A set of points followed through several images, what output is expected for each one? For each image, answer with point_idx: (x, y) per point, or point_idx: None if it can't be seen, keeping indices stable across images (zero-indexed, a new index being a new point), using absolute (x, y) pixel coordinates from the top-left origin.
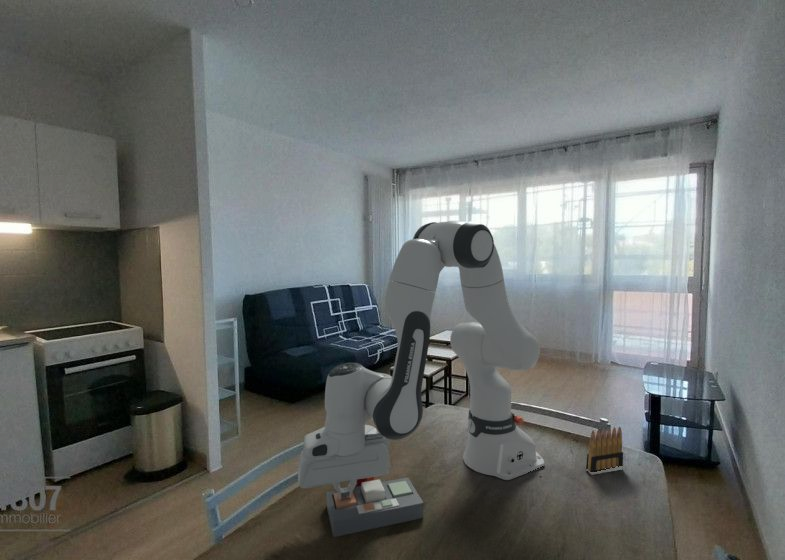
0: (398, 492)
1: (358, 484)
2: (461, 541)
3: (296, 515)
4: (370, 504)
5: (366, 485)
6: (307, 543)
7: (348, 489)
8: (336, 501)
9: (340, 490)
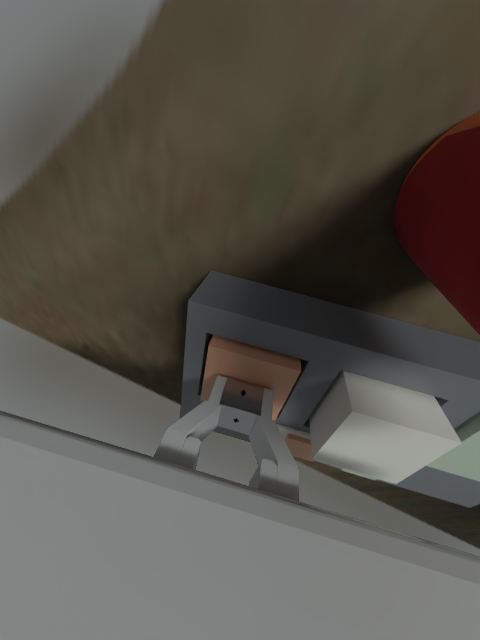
0: (455, 468)
1: (409, 256)
2: (429, 505)
3: (101, 257)
4: (310, 449)
5: (356, 434)
6: (137, 365)
7: (252, 430)
8: (205, 387)
9: (208, 433)
